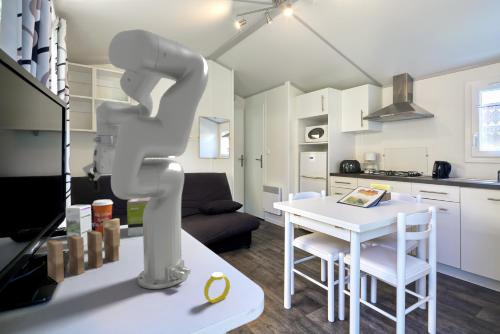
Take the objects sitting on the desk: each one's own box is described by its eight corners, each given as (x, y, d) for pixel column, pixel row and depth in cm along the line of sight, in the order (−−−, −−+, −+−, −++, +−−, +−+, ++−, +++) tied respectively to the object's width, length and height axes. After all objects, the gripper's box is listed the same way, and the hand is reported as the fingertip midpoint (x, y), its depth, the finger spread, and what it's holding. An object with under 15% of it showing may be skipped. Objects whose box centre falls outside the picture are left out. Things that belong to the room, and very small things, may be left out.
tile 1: (118, 260, 79) (118, 228, 78) (113, 261, 77) (113, 229, 77) (109, 256, 81) (108, 226, 81) (104, 258, 80) (103, 227, 79)
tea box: (132, 227, 116) (132, 195, 115) (156, 225, 119) (155, 194, 118) (127, 237, 102) (126, 200, 101) (153, 234, 105) (153, 199, 104)
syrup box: (92, 241, 96) (91, 204, 95) (80, 247, 90) (79, 207, 89) (79, 241, 96) (77, 204, 96) (66, 246, 91) (65, 207, 90)
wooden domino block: (63, 280, 66) (62, 242, 65) (56, 283, 64) (55, 244, 64) (55, 275, 68) (53, 239, 68) (48, 278, 67) (46, 241, 67)
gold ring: (224, 294, 59) (226, 269, 59) (231, 299, 57) (232, 273, 57) (201, 301, 55) (203, 274, 55) (207, 307, 53) (209, 279, 53)
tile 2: (102, 266, 74) (101, 232, 74) (97, 268, 73) (96, 234, 73) (93, 262, 77) (92, 230, 76) (88, 264, 75) (87, 231, 75)
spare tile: (117, 245, 92) (117, 218, 92) (120, 246, 91) (119, 218, 91) (103, 249, 88) (103, 221, 87) (106, 250, 87) (105, 221, 87)
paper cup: (93, 237, 101) (92, 203, 101) (92, 232, 108) (91, 200, 107) (114, 234, 105) (114, 201, 105) (113, 229, 112) (112, 198, 111)
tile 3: (84, 272, 70) (83, 237, 70) (78, 275, 69) (77, 239, 68) (75, 268, 73) (74, 234, 72) (69, 270, 71) (68, 236, 71)
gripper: (88, 140, 79) (90, 194, 79) (138, 142, 93) (138, 188, 94) (76, 140, 82) (78, 192, 83) (125, 143, 97) (126, 187, 98)
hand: (110, 190), depth 89 cm, fingers open, 9 cm apart
